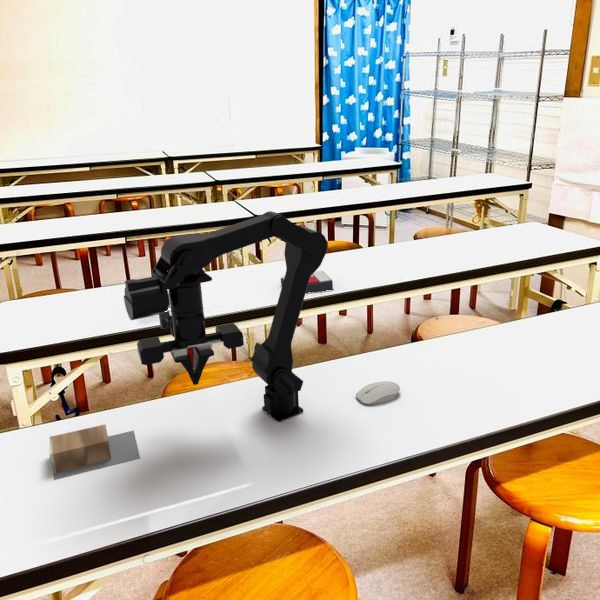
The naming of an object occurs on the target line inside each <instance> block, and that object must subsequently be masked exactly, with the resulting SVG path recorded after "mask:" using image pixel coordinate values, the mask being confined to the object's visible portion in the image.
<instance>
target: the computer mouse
mask: <svg viewBox="0 0 600 600" xmlns="http://www.w3.org/2000/svg"><path fill="white" fill-rule="evenodd" d="M400 391H401V387H400V385H399V384H398V383H396V382H393V381H387V380H386V381H384V380H383V381H376V382H372V383H369V384H367V385H366V386H363V387H362V388H361V389H359V390H358V391H356V394H355V398H357V400H358V401H360V402H361V404H364V405H366V406H367V405H368V406H372V405H373V406H374V405H380V404H383V403H387V402H390V401H392V400H393V399H394V398H396V397H397V396H398V395H399V393H400Z"/></svg>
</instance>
